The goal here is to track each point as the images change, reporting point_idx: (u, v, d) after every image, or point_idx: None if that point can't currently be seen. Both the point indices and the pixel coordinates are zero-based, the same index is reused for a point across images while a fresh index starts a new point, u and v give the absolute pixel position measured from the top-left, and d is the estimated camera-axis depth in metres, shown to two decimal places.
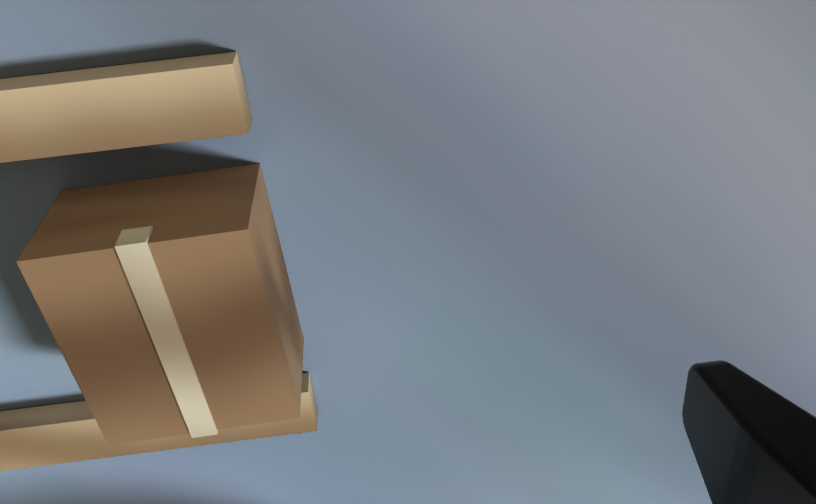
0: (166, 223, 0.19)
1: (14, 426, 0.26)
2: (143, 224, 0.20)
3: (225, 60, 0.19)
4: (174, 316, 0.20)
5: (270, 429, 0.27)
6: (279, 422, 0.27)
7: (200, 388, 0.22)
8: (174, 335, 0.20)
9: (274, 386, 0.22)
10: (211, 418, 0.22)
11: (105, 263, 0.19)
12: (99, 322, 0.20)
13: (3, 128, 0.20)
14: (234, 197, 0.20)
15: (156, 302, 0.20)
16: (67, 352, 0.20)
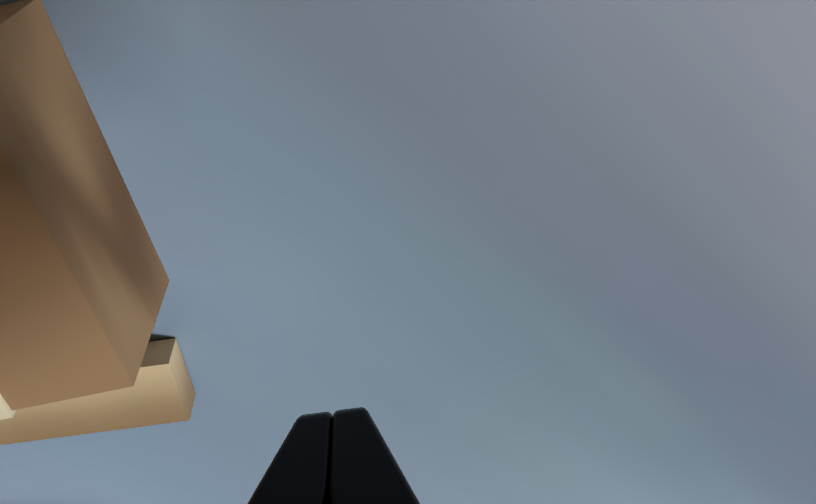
0: None
1: None
2: None
3: None
4: None
5: (122, 418, 0.19)
6: (133, 408, 0.19)
7: None
8: None
9: (80, 336, 0.14)
10: None
11: None
12: None
13: None
14: None
15: None
16: None
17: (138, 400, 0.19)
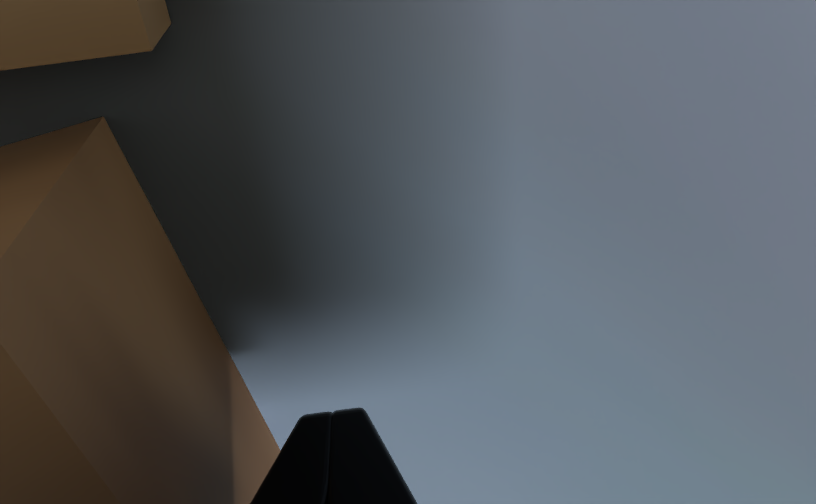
0: None
1: None
2: None
3: None
4: None
5: None
6: None
7: None
8: None
9: None
10: None
11: None
12: None
13: None
14: None
15: None
16: None
17: None
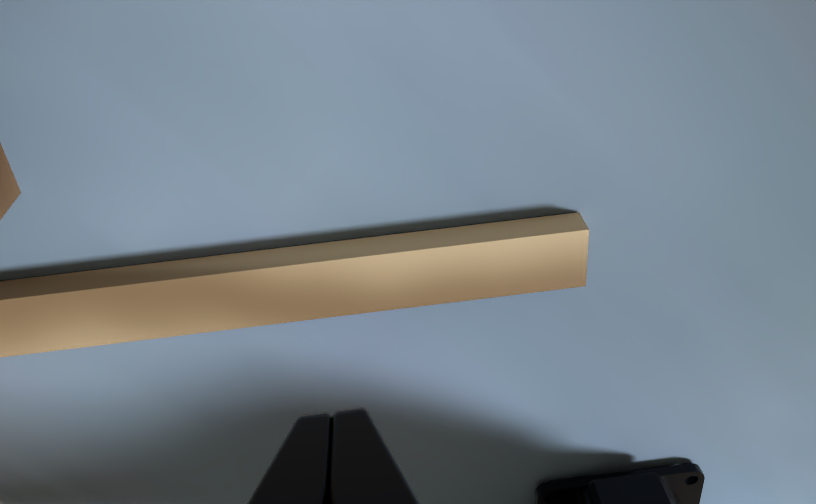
0: None
1: (225, 270, 0.21)
2: None
3: None
4: None
5: (531, 282, 0.22)
6: (544, 272, 0.21)
7: None
8: None
9: None
10: None
11: None
12: None
13: None
14: None
15: None
16: None
17: (551, 264, 0.21)
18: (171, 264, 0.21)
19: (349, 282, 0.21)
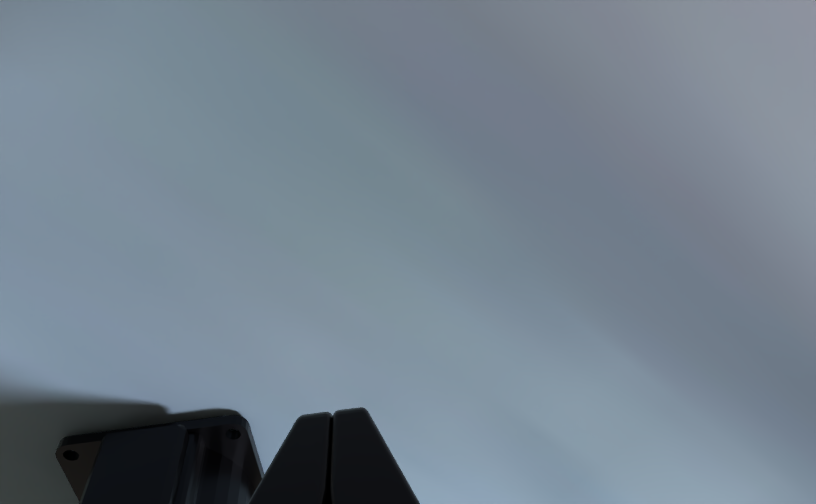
0: None
1: None
2: None
3: None
4: None
5: None
6: None
7: None
8: None
9: None
10: None
11: None
12: None
13: None
14: None
15: None
16: None
17: None
18: None
19: None
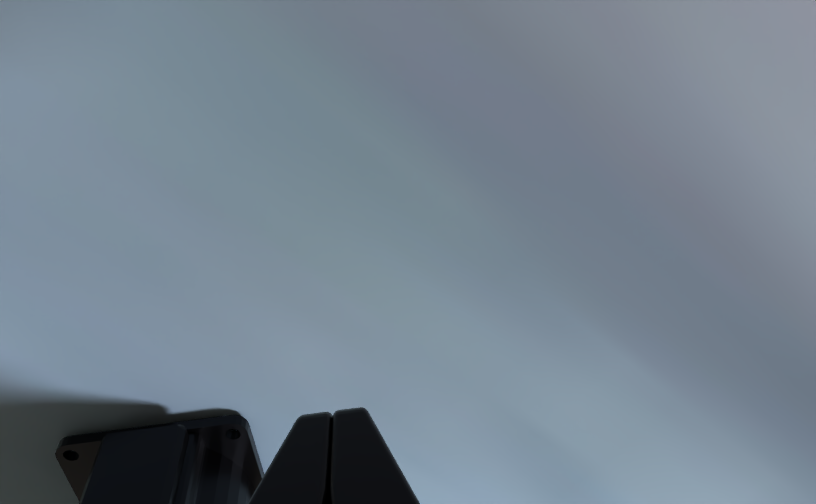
0: None
1: None
2: None
3: None
4: None
5: None
6: None
7: None
8: None
9: None
10: None
11: None
12: None
13: None
14: None
15: None
16: None
17: None
18: None
19: None
